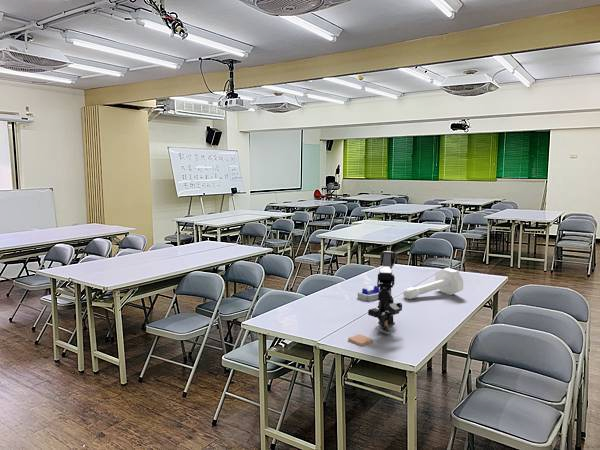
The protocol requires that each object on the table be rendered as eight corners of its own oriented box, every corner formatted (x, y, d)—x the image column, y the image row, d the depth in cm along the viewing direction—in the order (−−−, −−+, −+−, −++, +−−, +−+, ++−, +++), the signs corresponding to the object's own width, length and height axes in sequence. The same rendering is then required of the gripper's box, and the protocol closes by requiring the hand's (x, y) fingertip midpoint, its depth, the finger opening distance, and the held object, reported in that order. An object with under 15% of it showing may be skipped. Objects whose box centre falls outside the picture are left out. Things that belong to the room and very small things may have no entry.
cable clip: (367, 299, 292) (367, 290, 291) (362, 297, 295) (362, 288, 295) (380, 296, 298) (380, 287, 298) (375, 294, 302) (375, 285, 301)
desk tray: (356, 298, 295) (356, 292, 294) (376, 294, 305) (376, 288, 305) (368, 302, 287) (368, 296, 286) (388, 297, 297) (388, 291, 297)
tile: (359, 337, 227) (348, 341, 223) (359, 334, 227) (348, 337, 222) (373, 342, 220) (361, 347, 215) (373, 339, 220) (361, 343, 215)
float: (375, 329, 233) (375, 318, 232) (382, 327, 236) (382, 316, 235) (387, 333, 226) (387, 322, 226) (394, 331, 229) (394, 320, 229)
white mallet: (393, 281, 303) (437, 268, 314) (400, 307, 302) (443, 293, 313) (412, 280, 280) (459, 266, 291) (420, 308, 279) (466, 293, 290)
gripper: (384, 303, 217) (383, 335, 219) (410, 296, 228) (409, 327, 230) (367, 298, 226) (367, 328, 228) (393, 291, 237) (392, 321, 239)
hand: (384, 326), depth 231 cm, fingers closed on float, 2 cm apart
